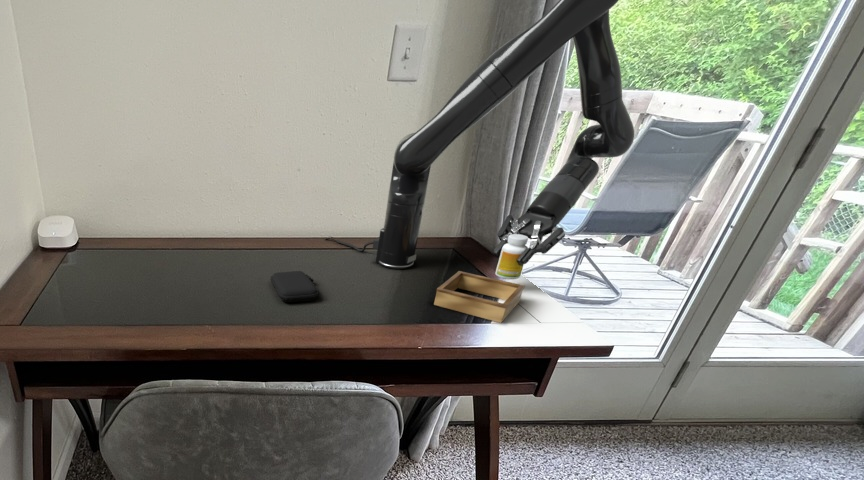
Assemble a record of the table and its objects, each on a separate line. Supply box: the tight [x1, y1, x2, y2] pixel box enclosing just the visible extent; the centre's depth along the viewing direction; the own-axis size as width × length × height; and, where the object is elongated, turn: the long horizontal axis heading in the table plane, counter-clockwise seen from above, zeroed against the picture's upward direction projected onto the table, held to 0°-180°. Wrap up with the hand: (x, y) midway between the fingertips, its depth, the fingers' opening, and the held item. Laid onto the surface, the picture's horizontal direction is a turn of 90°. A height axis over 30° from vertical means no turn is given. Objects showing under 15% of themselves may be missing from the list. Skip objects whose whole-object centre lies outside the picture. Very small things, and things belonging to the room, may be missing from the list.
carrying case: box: [270, 270, 319, 303], centre depth 119 cm, size 11×3×15 cm
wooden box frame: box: [433, 270, 526, 324], centre depth 110 cm, size 15×14×4 cm
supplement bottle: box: [495, 233, 529, 280], centre depth 113 cm, size 5×5×10 cm
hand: (507, 259), depth 113 cm, fingers closed on supplement bottle, 5 cm apart
